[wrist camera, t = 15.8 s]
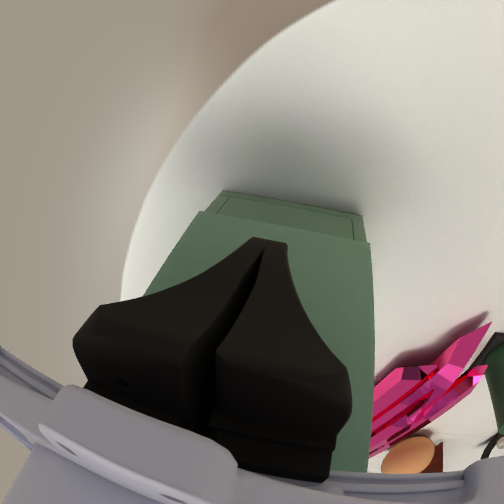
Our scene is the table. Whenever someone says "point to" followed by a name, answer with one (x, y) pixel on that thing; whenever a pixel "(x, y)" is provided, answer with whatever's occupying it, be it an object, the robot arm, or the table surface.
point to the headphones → (499, 439)
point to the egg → (409, 456)
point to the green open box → (289, 215)
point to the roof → (435, 461)
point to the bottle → (496, 382)
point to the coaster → (489, 349)
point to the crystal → (423, 392)
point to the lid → (304, 302)
